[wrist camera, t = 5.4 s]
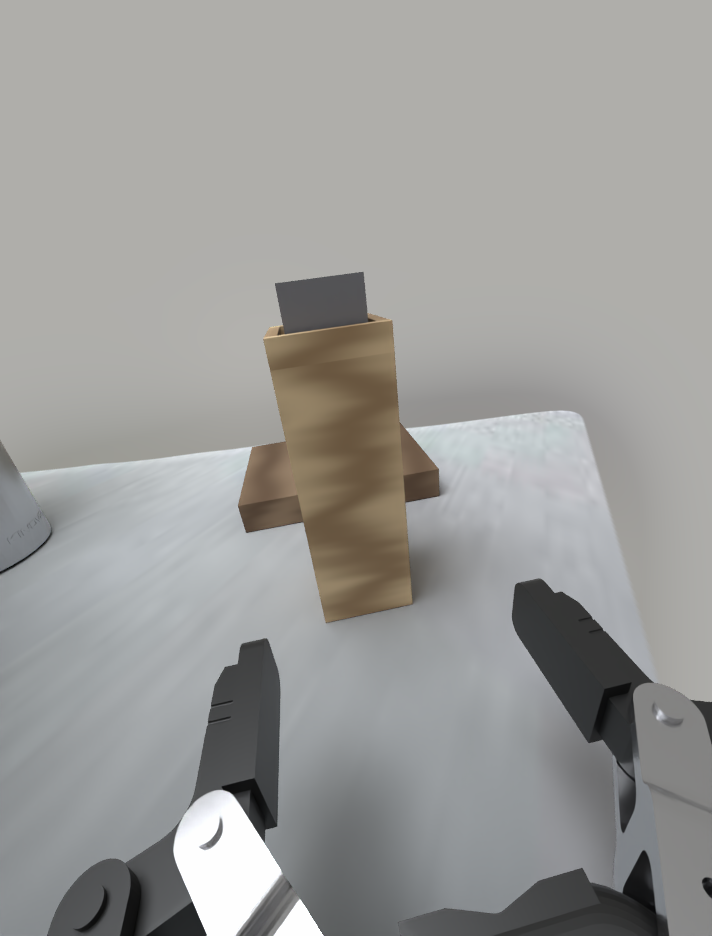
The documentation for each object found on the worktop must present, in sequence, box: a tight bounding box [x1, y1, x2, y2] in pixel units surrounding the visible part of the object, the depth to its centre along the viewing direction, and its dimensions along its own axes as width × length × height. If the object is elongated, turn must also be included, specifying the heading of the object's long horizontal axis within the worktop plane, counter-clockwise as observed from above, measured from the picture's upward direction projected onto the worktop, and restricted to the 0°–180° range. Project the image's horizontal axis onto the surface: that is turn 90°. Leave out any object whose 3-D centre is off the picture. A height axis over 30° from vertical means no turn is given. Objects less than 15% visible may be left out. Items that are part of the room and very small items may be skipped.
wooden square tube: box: [263, 313, 412, 623], centre depth 20 cm, size 5×5×15 cm
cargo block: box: [275, 272, 368, 334], centre depth 16 cm, size 3×3×3 cm
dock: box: [238, 423, 439, 532], centre depth 35 cm, size 16×12×2 cm
